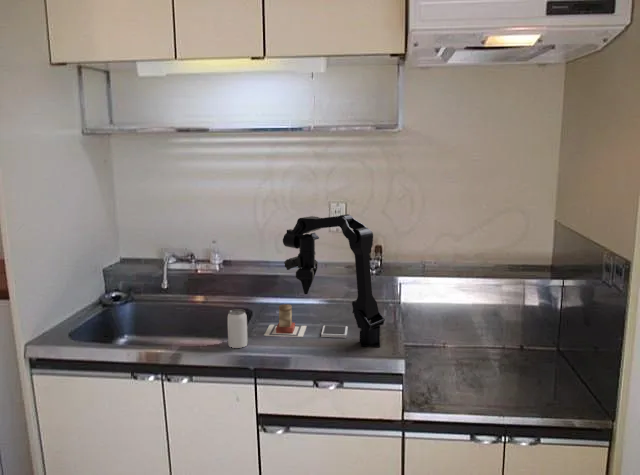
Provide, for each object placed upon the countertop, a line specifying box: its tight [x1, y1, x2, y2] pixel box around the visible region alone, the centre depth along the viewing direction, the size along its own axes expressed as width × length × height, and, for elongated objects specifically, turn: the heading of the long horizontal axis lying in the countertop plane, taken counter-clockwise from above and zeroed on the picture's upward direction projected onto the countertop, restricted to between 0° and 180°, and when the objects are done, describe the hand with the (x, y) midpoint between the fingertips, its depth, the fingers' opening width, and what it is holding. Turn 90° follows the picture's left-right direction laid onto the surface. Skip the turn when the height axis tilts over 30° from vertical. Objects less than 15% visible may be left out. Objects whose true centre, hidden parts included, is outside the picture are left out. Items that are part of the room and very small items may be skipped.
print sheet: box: [263, 324, 307, 338], centre depth 189 cm, size 14×11×1 cm
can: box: [227, 308, 248, 349], centre depth 174 cm, size 6×6×12 cm
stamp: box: [276, 303, 296, 334], centre depth 188 cm, size 6×6×9 cm
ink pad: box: [320, 325, 349, 339], centre depth 187 cm, size 9×9×1 cm
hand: (307, 290), depth 194 cm, fingers open, 9 cm apart
